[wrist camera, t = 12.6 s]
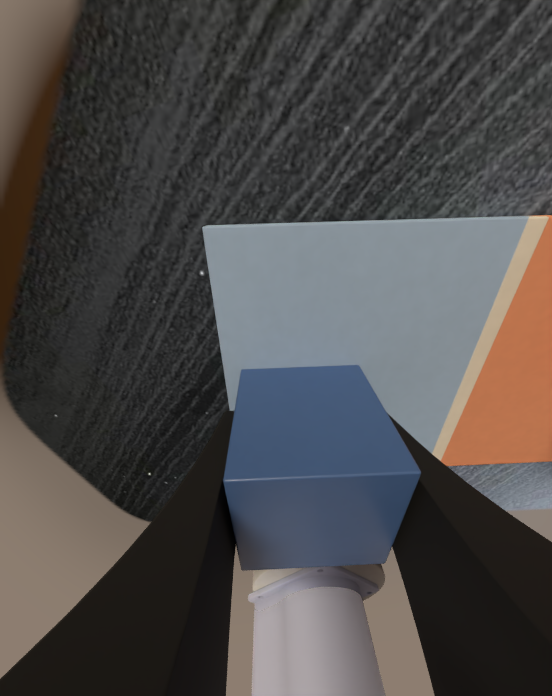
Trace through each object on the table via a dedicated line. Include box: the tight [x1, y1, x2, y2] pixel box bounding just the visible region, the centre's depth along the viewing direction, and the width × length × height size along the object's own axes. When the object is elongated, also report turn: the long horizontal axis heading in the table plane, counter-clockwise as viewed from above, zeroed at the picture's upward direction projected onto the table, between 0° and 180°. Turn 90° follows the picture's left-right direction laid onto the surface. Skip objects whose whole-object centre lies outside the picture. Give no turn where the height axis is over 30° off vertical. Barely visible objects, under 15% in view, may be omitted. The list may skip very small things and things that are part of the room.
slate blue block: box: [223, 365, 421, 570], centre depth 9 cm, size 4×4×4 cm
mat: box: [202, 215, 552, 466], centre depth 10 cm, size 19×11×1 cm, turn 91°
